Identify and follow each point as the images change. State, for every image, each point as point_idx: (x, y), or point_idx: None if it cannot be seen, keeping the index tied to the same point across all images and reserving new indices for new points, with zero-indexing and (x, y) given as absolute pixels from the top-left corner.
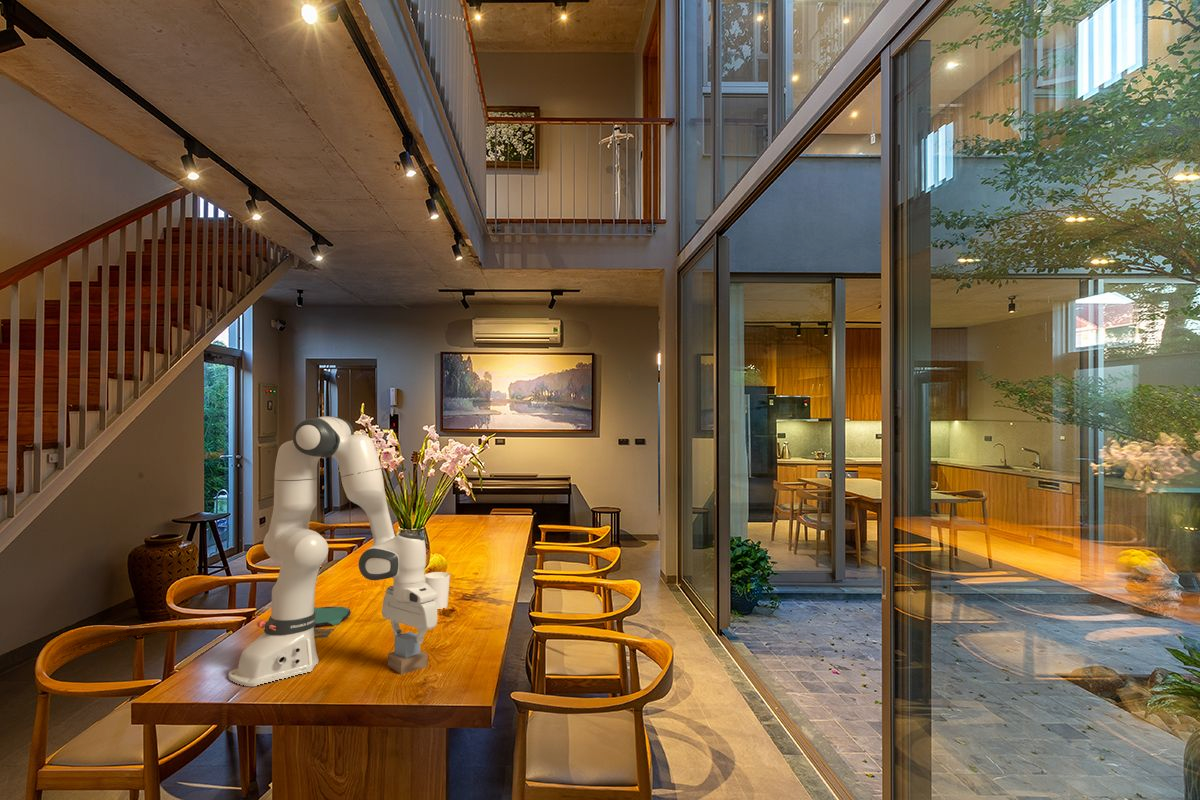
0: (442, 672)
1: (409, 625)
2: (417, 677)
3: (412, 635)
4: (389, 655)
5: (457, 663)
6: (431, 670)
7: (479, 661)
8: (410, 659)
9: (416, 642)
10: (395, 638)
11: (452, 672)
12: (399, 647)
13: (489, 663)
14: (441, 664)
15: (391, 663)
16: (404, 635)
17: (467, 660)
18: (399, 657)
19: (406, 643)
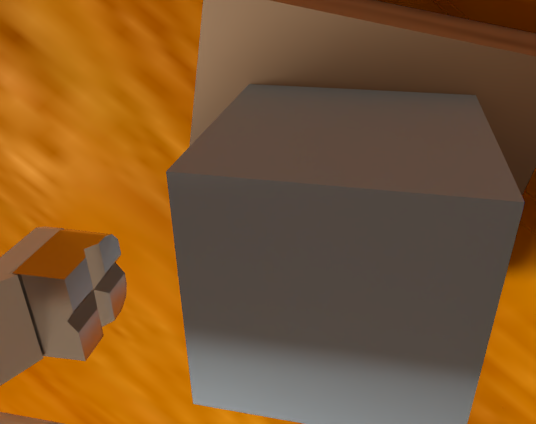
0: (50, 198)
1: (10, 416)
2: (84, 22)
3: (272, 355)
4: (534, 52)
5: (119, 344)
6: (134, 185)
7: (61, 407)
8: (198, 102)
9: (69, 230)
10: (495, 180)
11: (9, 230)
12: (365, 123)
13: (4, 405)
14: (178, 292)
15: (461, 25)
16: (383, 306)
17: (118, 395)
18: (324, 53)
19: (191, 155)
